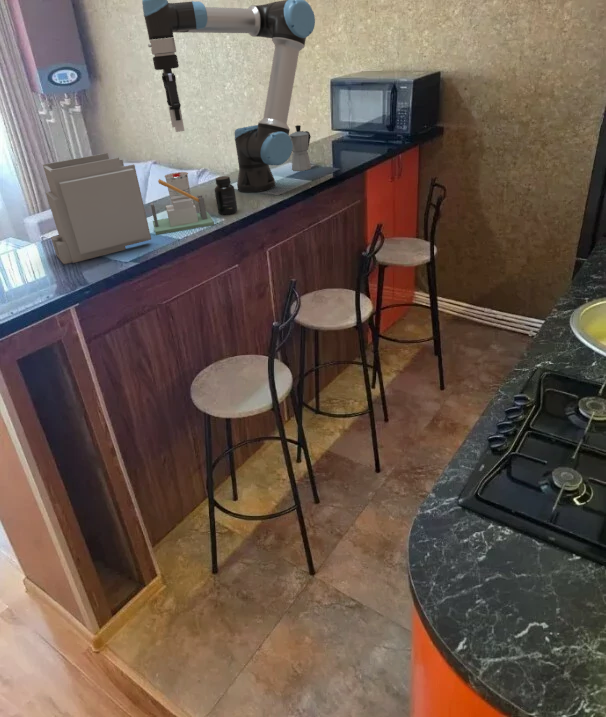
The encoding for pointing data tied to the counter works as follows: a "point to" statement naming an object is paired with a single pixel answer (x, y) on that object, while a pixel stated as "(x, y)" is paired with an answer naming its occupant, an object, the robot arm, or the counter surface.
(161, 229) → the board
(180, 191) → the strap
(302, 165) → the coffee maker
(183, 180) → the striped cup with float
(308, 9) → the robot arm
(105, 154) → the grey layered block
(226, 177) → the supplement bottle
